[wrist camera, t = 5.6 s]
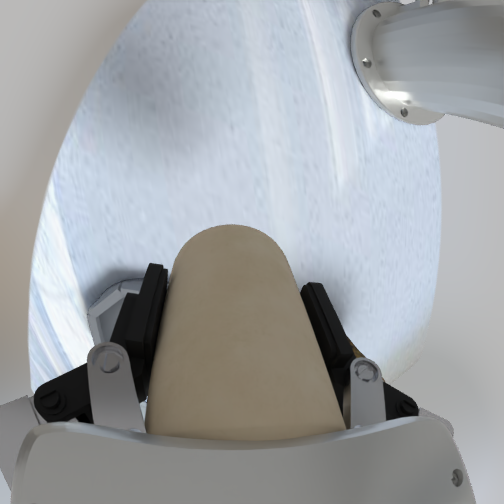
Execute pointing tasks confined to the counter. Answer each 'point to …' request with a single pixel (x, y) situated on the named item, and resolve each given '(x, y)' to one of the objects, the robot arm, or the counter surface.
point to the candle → (237, 346)
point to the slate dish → (110, 309)
